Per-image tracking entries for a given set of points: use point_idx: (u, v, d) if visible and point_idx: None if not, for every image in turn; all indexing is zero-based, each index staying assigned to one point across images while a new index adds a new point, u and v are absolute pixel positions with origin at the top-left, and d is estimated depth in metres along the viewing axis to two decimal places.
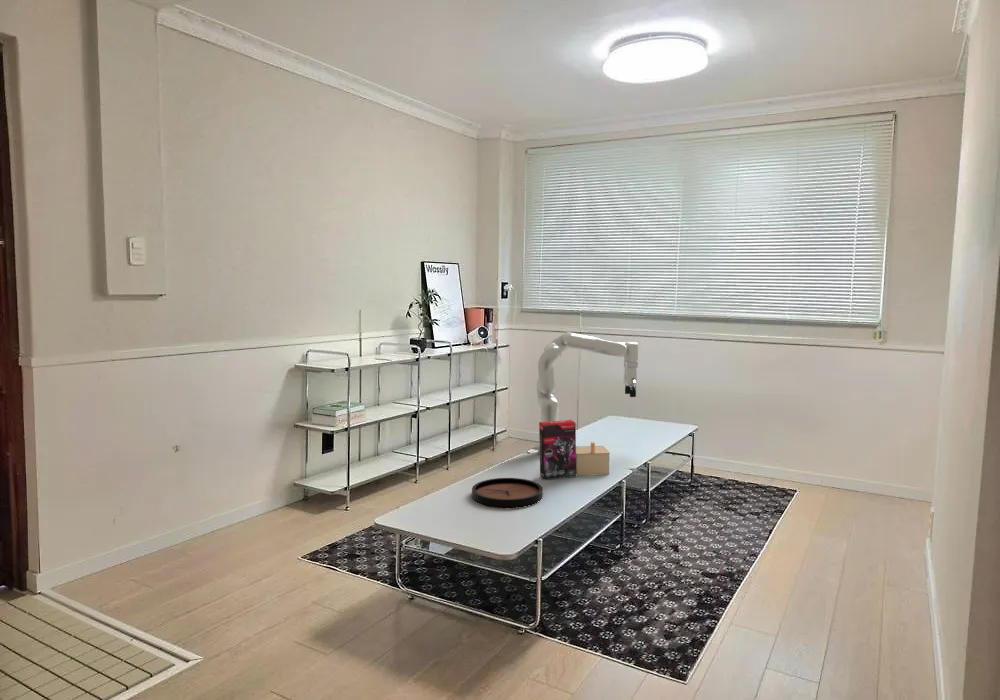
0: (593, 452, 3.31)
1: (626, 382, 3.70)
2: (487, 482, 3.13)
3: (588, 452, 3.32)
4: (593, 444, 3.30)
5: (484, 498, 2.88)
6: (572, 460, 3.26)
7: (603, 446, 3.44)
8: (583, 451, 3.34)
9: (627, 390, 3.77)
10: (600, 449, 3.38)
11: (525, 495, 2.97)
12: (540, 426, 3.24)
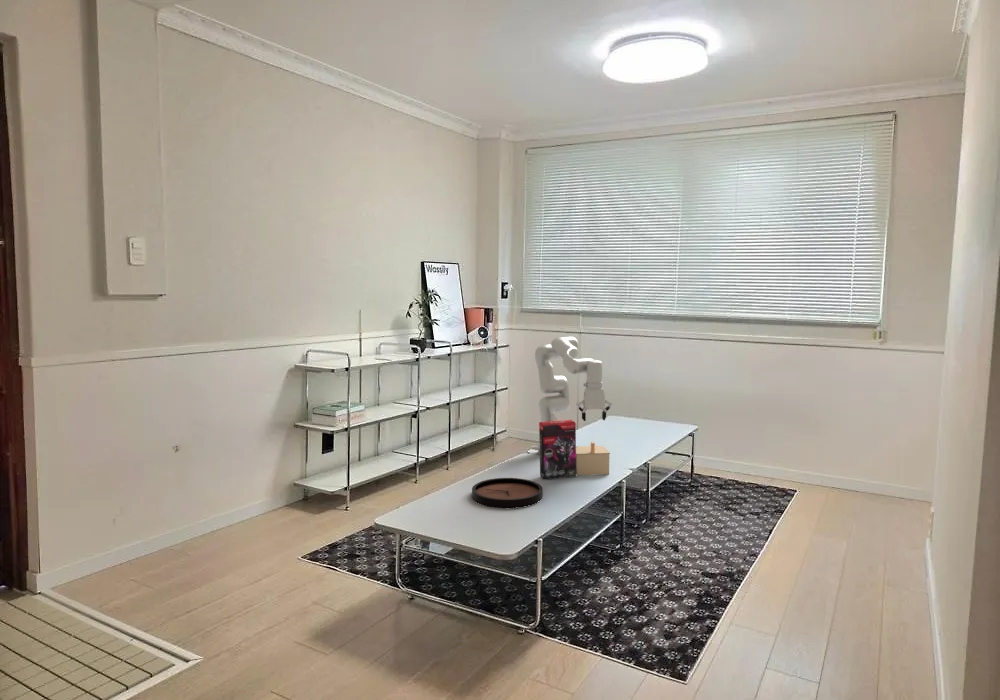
0: (593, 452, 3.31)
1: (598, 406, 3.28)
2: (487, 482, 3.13)
3: (588, 452, 3.32)
4: (593, 444, 3.30)
5: (484, 498, 2.88)
6: (572, 460, 3.26)
7: (603, 446, 3.44)
8: (583, 451, 3.34)
9: None
10: (600, 449, 3.38)
11: (525, 495, 2.97)
12: (540, 426, 3.24)
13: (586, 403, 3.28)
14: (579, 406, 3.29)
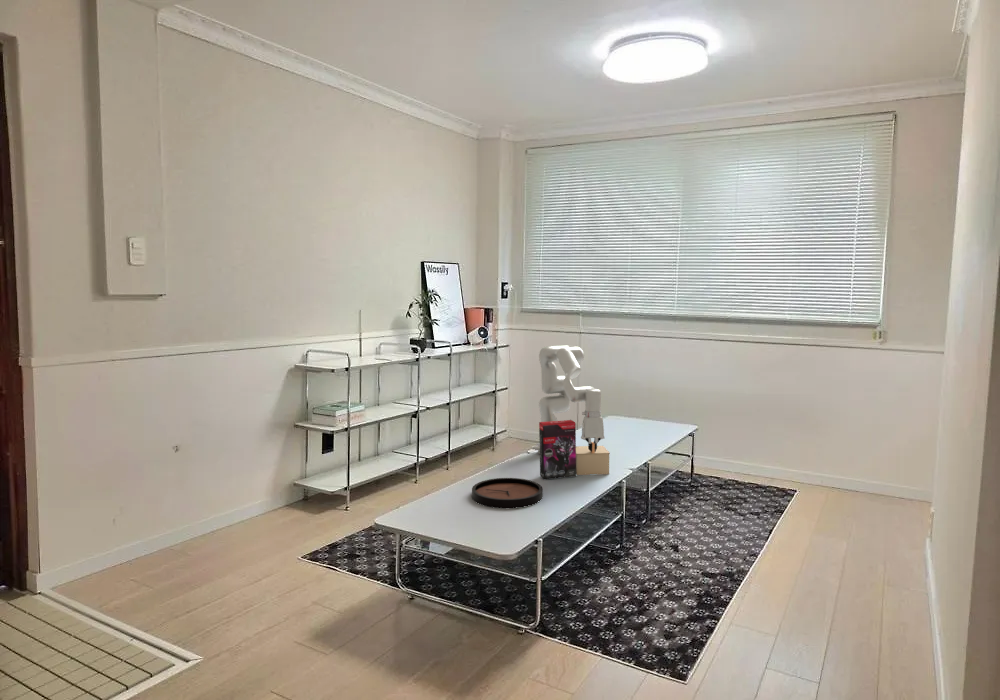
0: (593, 452, 3.31)
1: (597, 434, 3.29)
2: (487, 482, 3.13)
3: (588, 452, 3.32)
4: (593, 444, 3.30)
5: (484, 498, 2.88)
6: (572, 460, 3.26)
7: (603, 446, 3.44)
8: (583, 451, 3.34)
9: None
10: (600, 449, 3.38)
11: (525, 495, 2.97)
12: (540, 426, 3.24)
13: (585, 432, 3.28)
14: (584, 438, 3.31)
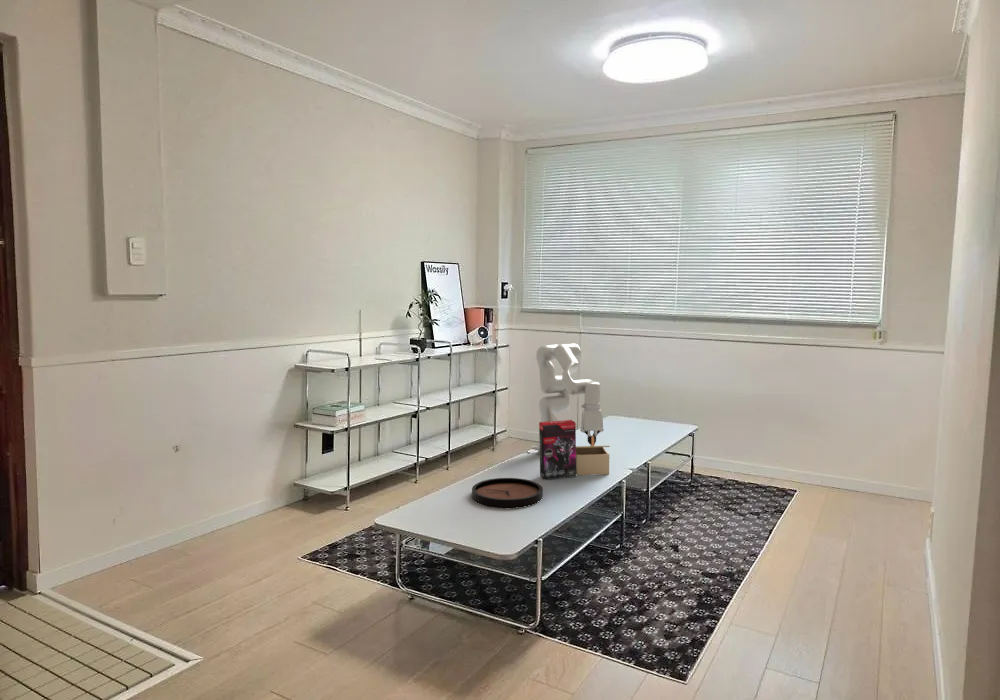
0: (593, 445, 3.31)
1: (596, 427, 3.30)
2: (487, 482, 3.13)
3: None
4: (592, 437, 3.31)
5: (484, 498, 2.88)
6: (572, 460, 3.26)
7: None
8: None
9: None
10: None
11: (525, 495, 2.97)
12: (540, 426, 3.24)
13: (584, 424, 3.30)
14: (584, 431, 3.32)
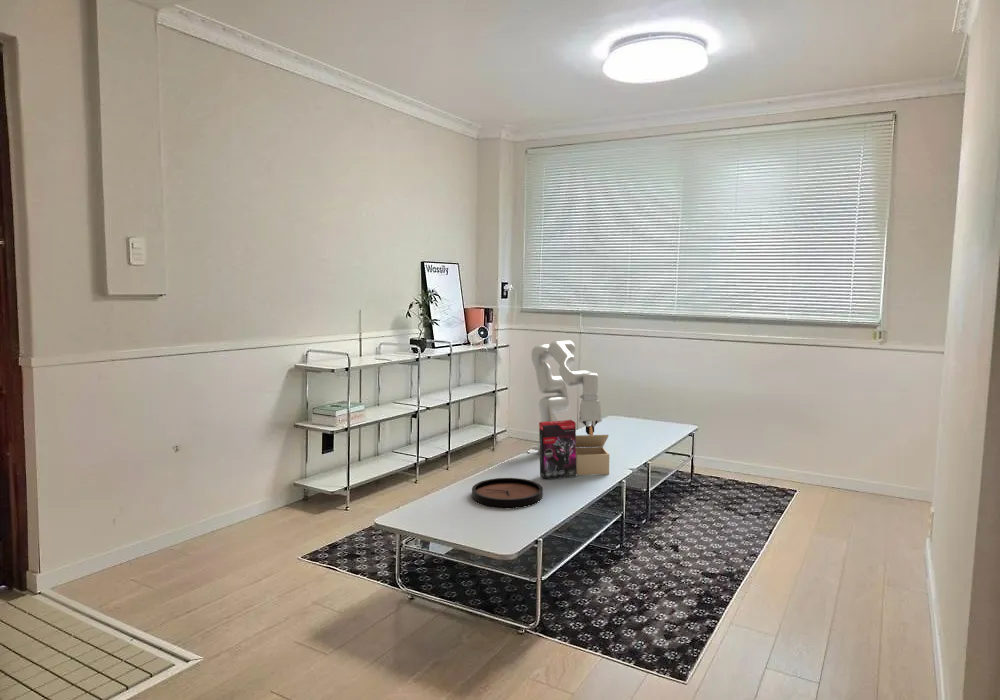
0: (592, 434, 3.33)
1: (594, 417, 3.34)
2: (487, 482, 3.13)
3: None
4: (590, 426, 3.35)
5: (484, 498, 2.88)
6: (572, 460, 3.26)
7: None
8: None
9: None
10: None
11: (525, 495, 2.97)
12: (540, 426, 3.24)
13: (582, 415, 3.34)
14: (582, 421, 3.36)
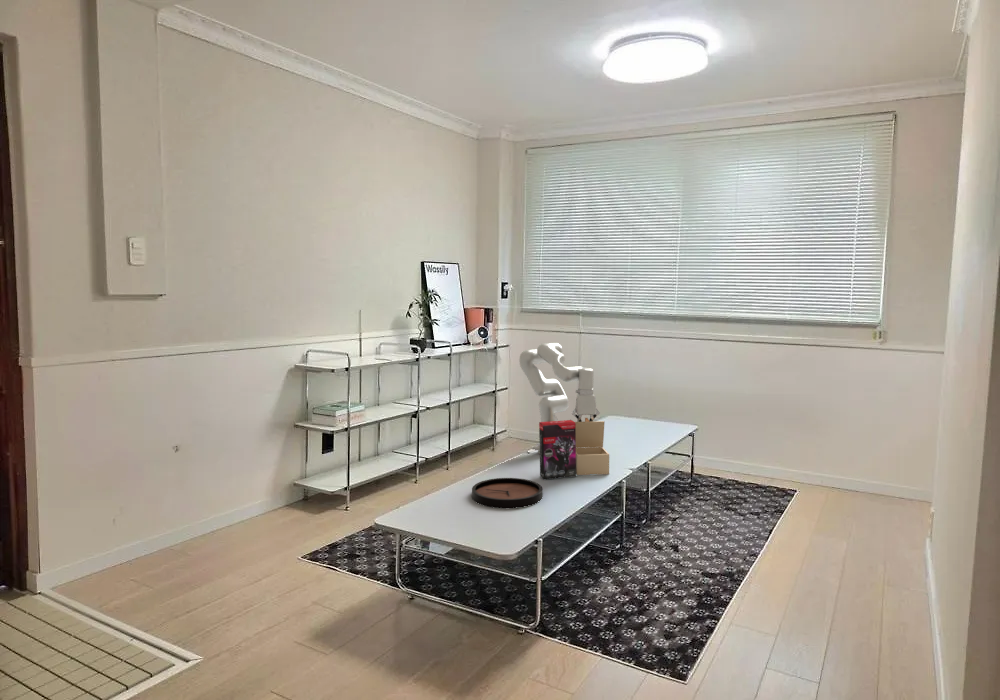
0: (588, 421, 3.42)
1: (590, 411, 3.44)
2: (487, 482, 3.13)
3: None
4: (586, 418, 3.45)
5: (484, 498, 2.88)
6: (572, 460, 3.26)
7: (602, 443, 3.45)
8: None
9: None
10: None
11: (525, 495, 2.97)
12: (540, 426, 3.24)
13: (578, 409, 3.44)
14: (575, 414, 3.46)
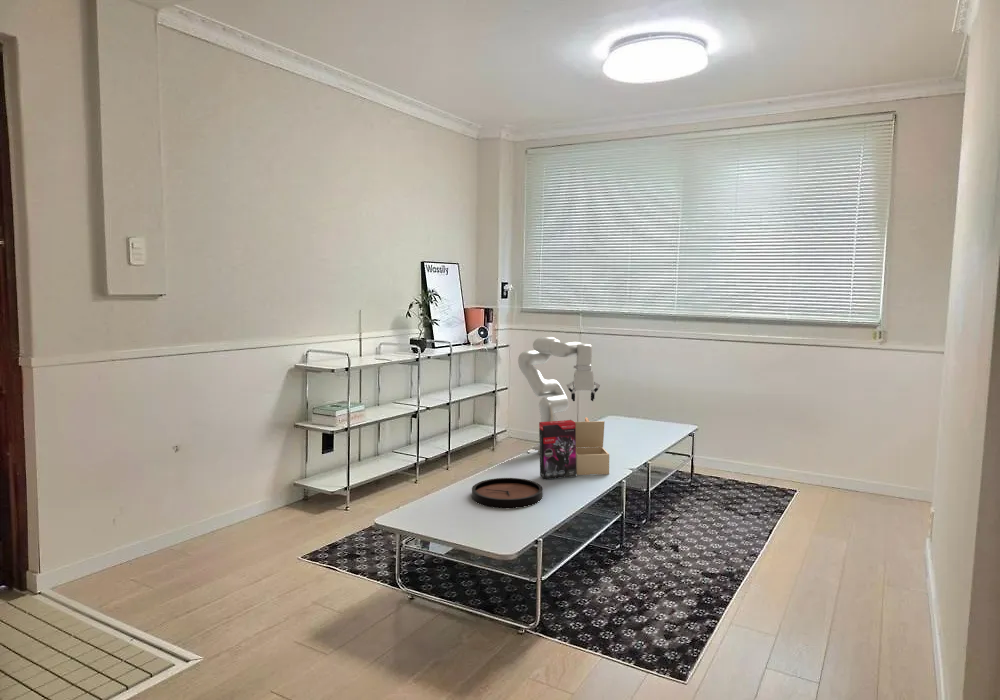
0: (588, 421, 3.42)
1: (587, 387, 3.45)
2: (487, 482, 3.13)
3: None
4: (586, 418, 3.45)
5: (484, 498, 2.88)
6: (572, 460, 3.26)
7: (602, 443, 3.45)
8: None
9: None
10: None
11: (525, 495, 2.97)
12: (540, 426, 3.24)
13: (575, 384, 3.44)
14: (569, 387, 3.46)
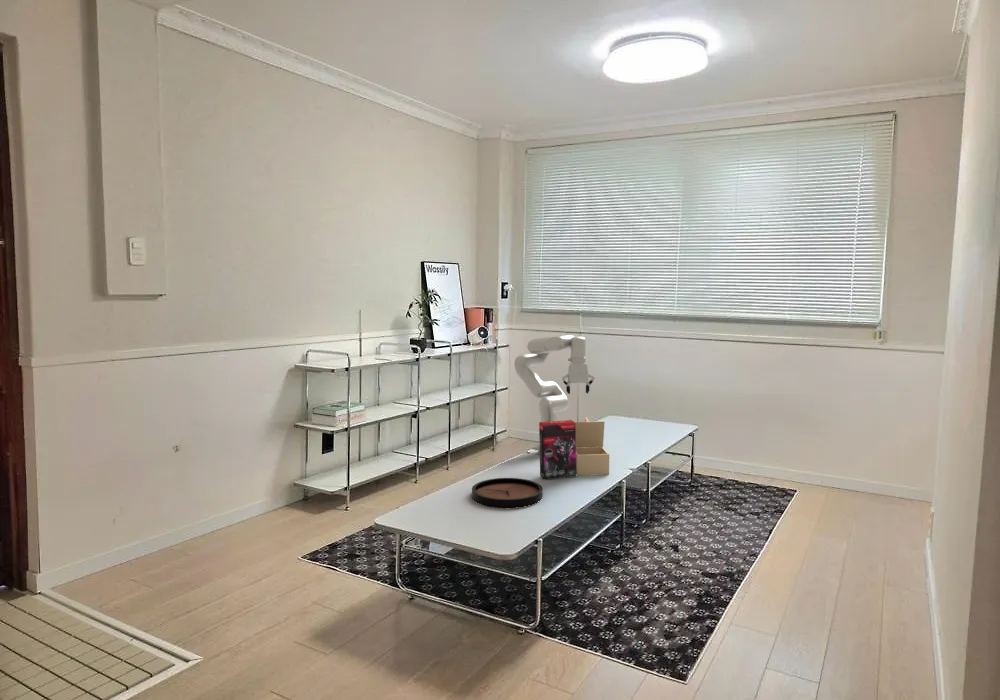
0: (588, 421, 3.42)
1: (582, 379, 3.48)
2: (487, 482, 3.13)
3: None
4: (586, 418, 3.45)
5: (484, 498, 2.88)
6: (572, 460, 3.26)
7: (602, 443, 3.45)
8: None
9: None
10: None
11: (525, 495, 2.97)
12: (540, 426, 3.24)
13: (570, 377, 3.47)
14: (564, 380, 3.49)
